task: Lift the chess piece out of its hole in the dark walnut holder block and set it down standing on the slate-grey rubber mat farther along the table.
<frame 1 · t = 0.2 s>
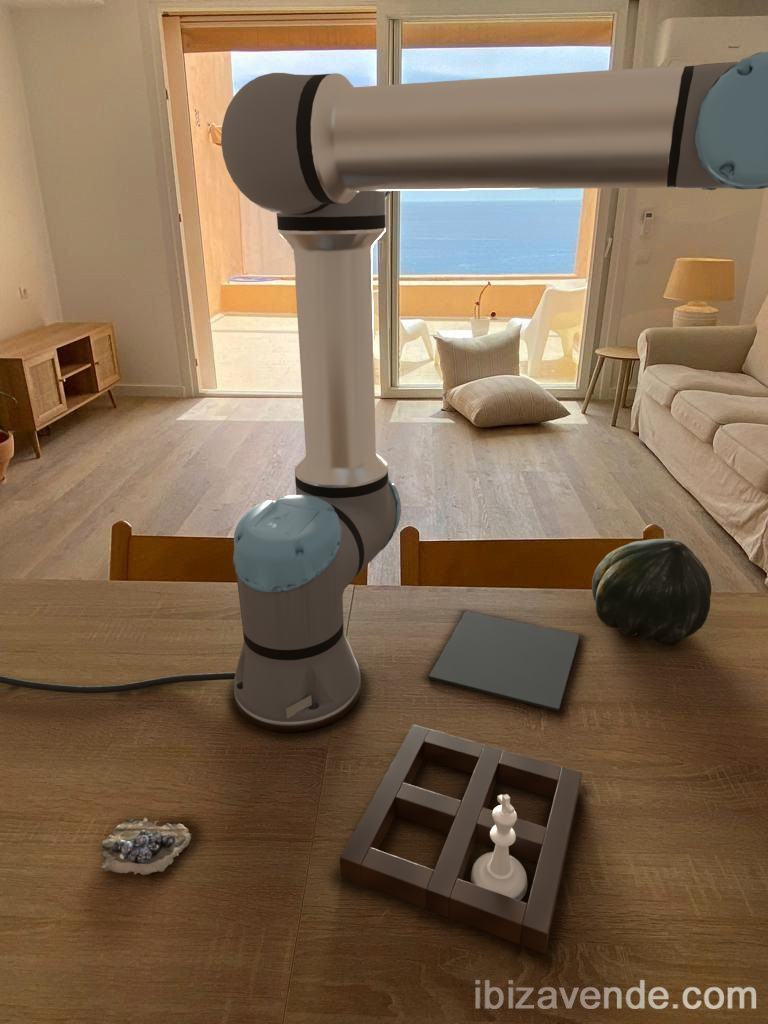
mat: (507, 657, 90), on the table
blueberries: (147, 848, 64), on the table
holder: (467, 830, 66), on the table
squash: (644, 628, 96), on the table
chess piece: (498, 882, 61), resting in holder
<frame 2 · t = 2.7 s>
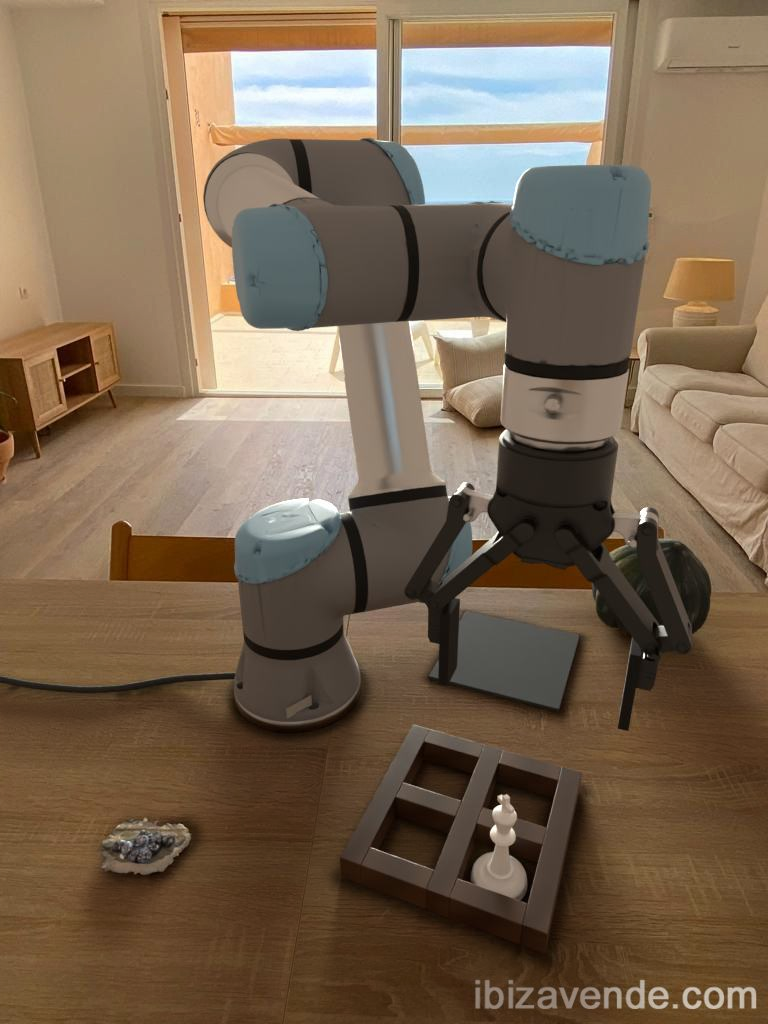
hand: (532, 696, 54), 20 cm above the table, tool pointing down, fingers open, 13 cm apart
nothing on the table moved.
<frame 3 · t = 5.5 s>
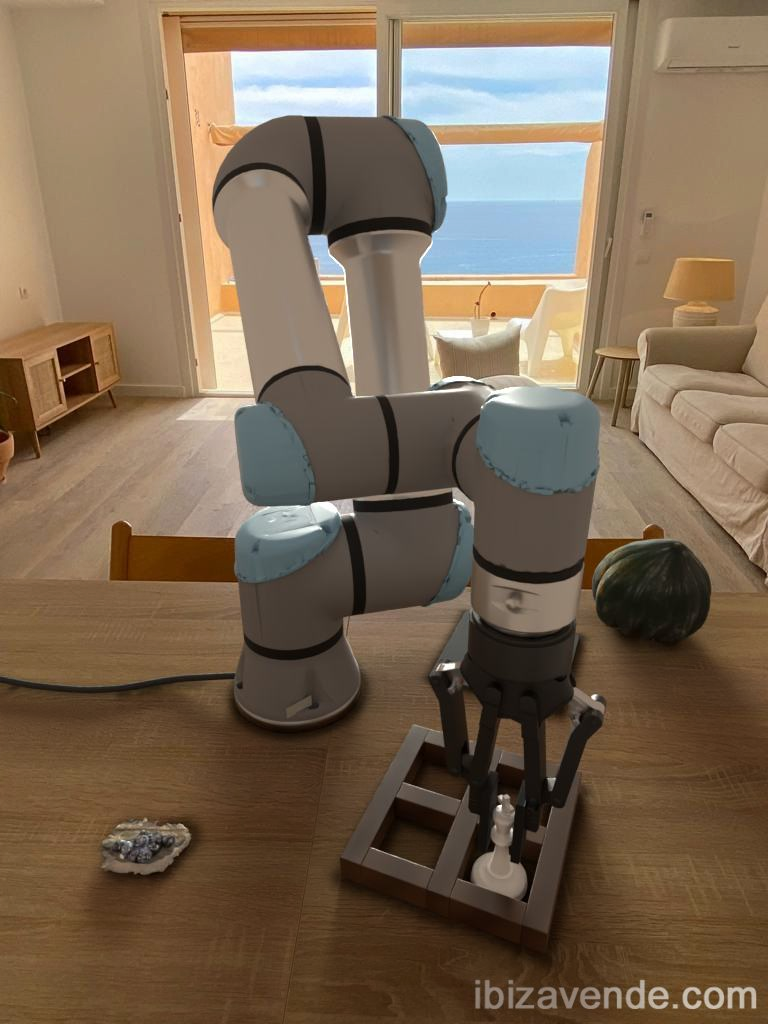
hand: (501, 844, 59), 4 cm above the table, tool pointing down, fingers closed on chess piece, 2 cm apart
chess piece: (498, 882, 61), resting in holder, touching gripper
everything else where it was.
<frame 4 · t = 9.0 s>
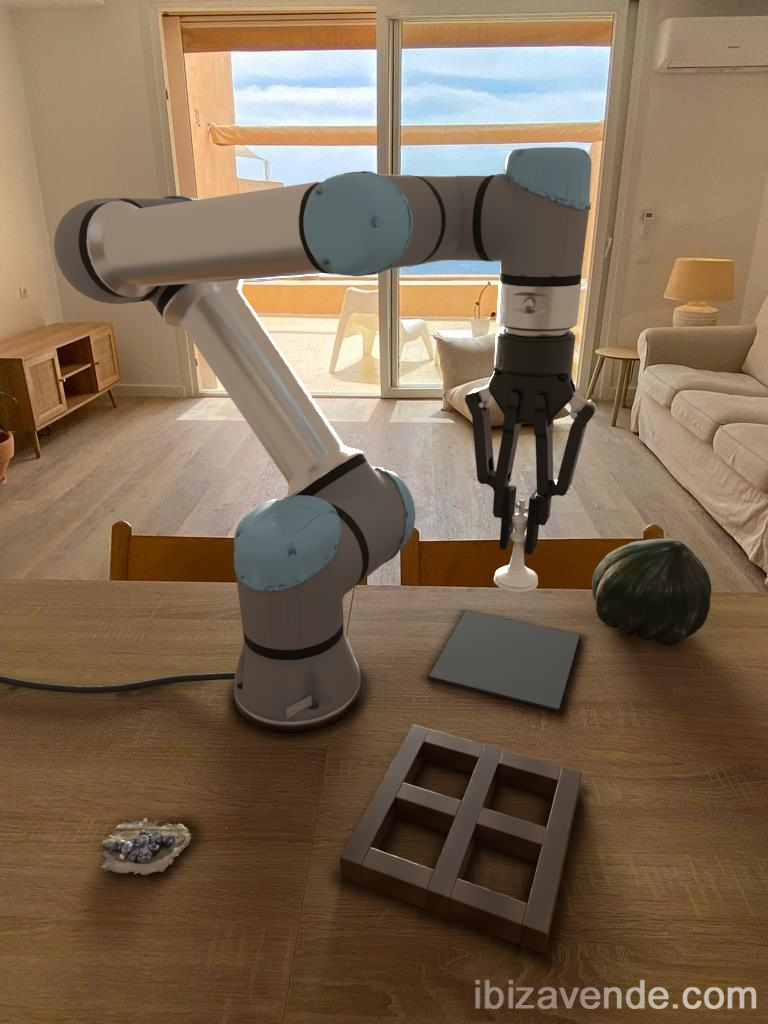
hand: (518, 546, 76), 19 cm above the table, tool pointing down, fingers closed on chess piece, 2 cm apart
chess piece: (515, 582, 78), point 15 cm above the table, touching gripper
everything else where it was.
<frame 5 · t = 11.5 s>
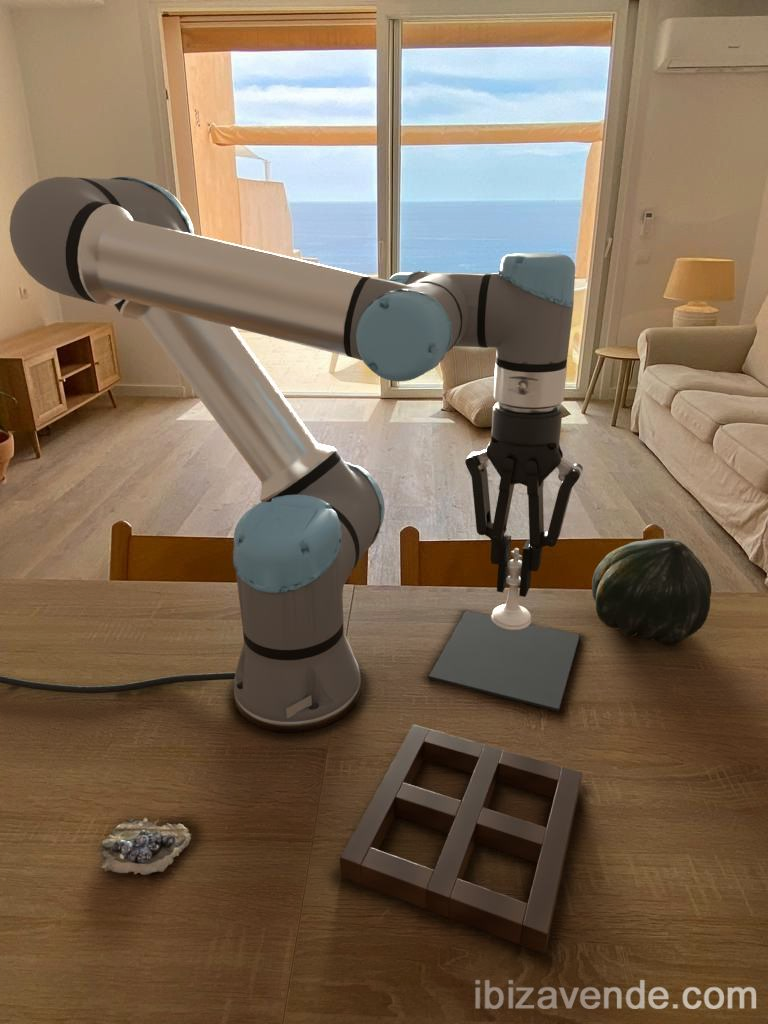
hand: (513, 588, 86), 10 cm above the table, tool pointing down, fingers closed on chess piece, 2 cm apart
chess piece: (511, 620, 88), point 6 cm above the table, touching gripper
everything else where it was.
when the fingers open (5 cm above the table, at t = 13.0 s): chess piece stays where it is, resting on mat.
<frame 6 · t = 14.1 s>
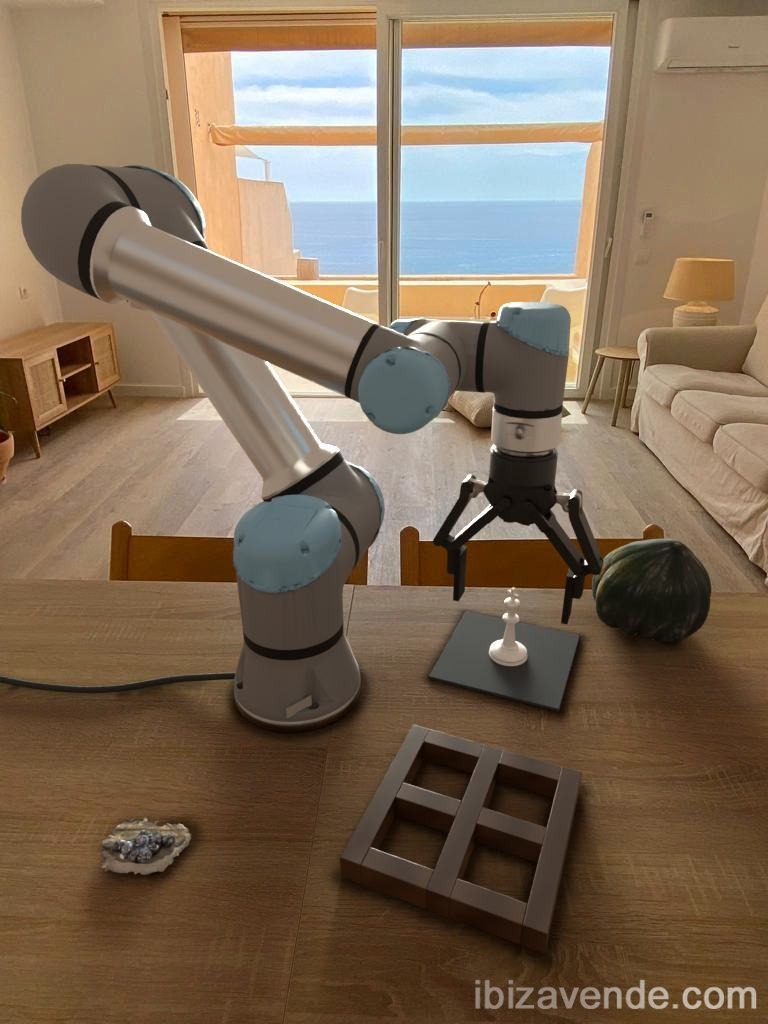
hand: (510, 606, 87), 8 cm above the table, tool pointing down, fingers open, 13 cm apart
chess piece: (507, 655, 90), resting on mat
everything else where it was.
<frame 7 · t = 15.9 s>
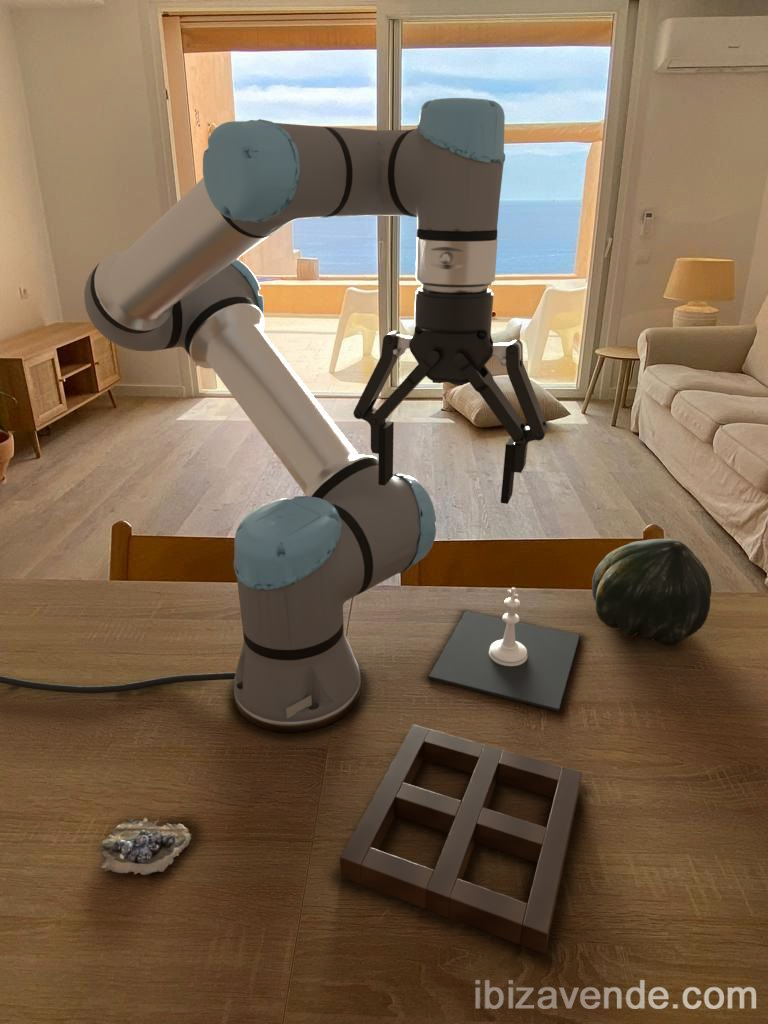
hand: (444, 489, 76), 26 cm above the table, tool pointing down, fingers open, 13 cm apart
nothing on the table moved.
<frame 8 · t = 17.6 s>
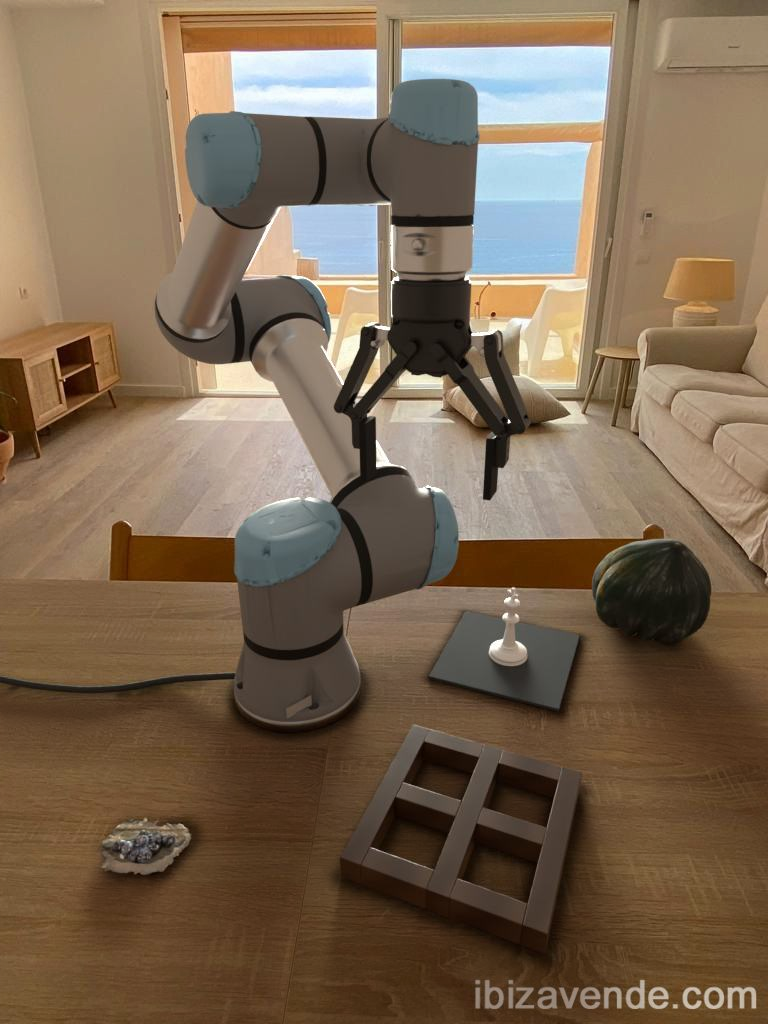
hand: (427, 486, 73), 27 cm above the table, tool pointing down, fingers open, 13 cm apart
nothing on the table moved.
at the end: chess piece inside the target area on the mat (0.1 cm from its centre), point 0.2 cm above the mat's base; chess piece tilted 0°; the gripper is holding nothing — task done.
